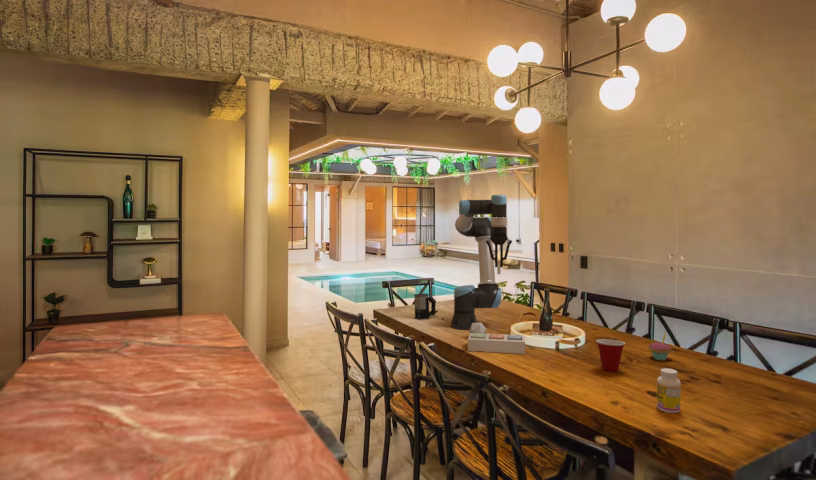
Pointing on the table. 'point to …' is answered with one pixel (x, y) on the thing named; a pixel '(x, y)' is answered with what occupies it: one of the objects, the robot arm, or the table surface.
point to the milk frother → (424, 306)
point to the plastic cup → (610, 354)
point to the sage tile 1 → (478, 335)
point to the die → (477, 328)
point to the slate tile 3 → (514, 337)
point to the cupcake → (660, 350)
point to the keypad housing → (496, 344)
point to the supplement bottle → (668, 391)
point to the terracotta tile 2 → (496, 336)
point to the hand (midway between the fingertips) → (498, 273)
